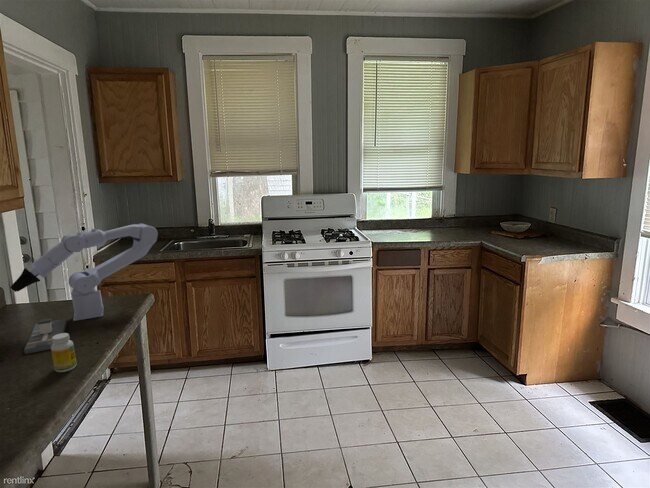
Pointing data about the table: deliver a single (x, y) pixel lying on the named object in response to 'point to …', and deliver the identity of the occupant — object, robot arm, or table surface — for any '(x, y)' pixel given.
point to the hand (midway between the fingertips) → (13, 289)
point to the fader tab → (45, 326)
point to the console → (44, 337)
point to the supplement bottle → (63, 353)
